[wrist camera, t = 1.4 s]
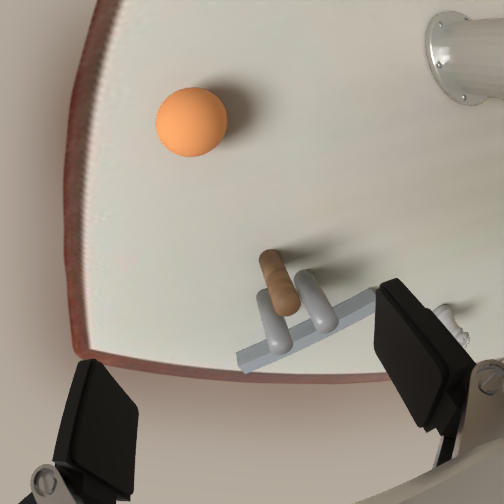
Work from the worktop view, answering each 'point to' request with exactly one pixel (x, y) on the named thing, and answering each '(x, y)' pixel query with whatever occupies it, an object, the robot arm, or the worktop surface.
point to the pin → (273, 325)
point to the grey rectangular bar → (309, 332)
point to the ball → (191, 122)
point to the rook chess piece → (451, 324)
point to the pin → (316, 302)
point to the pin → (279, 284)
